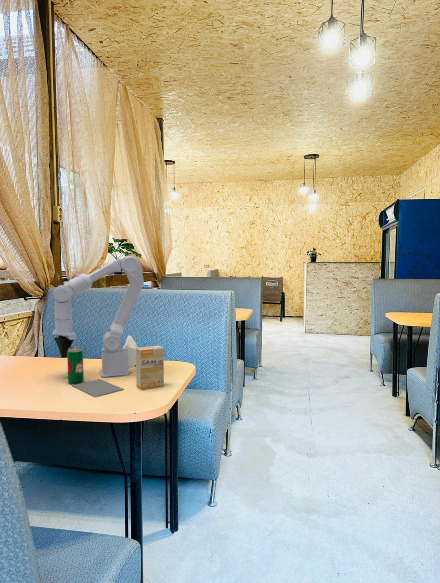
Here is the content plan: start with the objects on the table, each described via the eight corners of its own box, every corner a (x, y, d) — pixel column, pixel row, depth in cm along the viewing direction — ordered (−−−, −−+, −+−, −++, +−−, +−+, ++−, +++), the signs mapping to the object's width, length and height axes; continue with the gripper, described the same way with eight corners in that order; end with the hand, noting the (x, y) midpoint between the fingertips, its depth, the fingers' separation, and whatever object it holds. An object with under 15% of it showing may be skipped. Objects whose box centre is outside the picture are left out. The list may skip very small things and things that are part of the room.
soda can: (78, 385, 133) (77, 349, 132) (65, 384, 134) (63, 349, 133) (86, 380, 138) (85, 346, 137) (73, 379, 139) (72, 345, 138)
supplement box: (140, 390, 127) (139, 350, 127) (136, 386, 132) (135, 347, 131) (164, 386, 131) (164, 347, 130) (159, 382, 136) (159, 344, 135)
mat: (72, 386, 132) (72, 385, 132) (99, 379, 139) (99, 379, 139) (95, 397, 121) (95, 396, 121) (123, 389, 128) (123, 388, 128)
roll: (132, 337, 154) (119, 336, 156) (132, 367, 155) (120, 366, 157) (139, 334, 160) (127, 333, 162) (140, 364, 161) (128, 362, 162)
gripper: (43, 318, 143) (45, 355, 144) (61, 322, 132) (62, 362, 133) (63, 316, 148) (64, 352, 149) (81, 320, 137) (82, 359, 138)
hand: (64, 357), depth 141 cm, fingers closed
